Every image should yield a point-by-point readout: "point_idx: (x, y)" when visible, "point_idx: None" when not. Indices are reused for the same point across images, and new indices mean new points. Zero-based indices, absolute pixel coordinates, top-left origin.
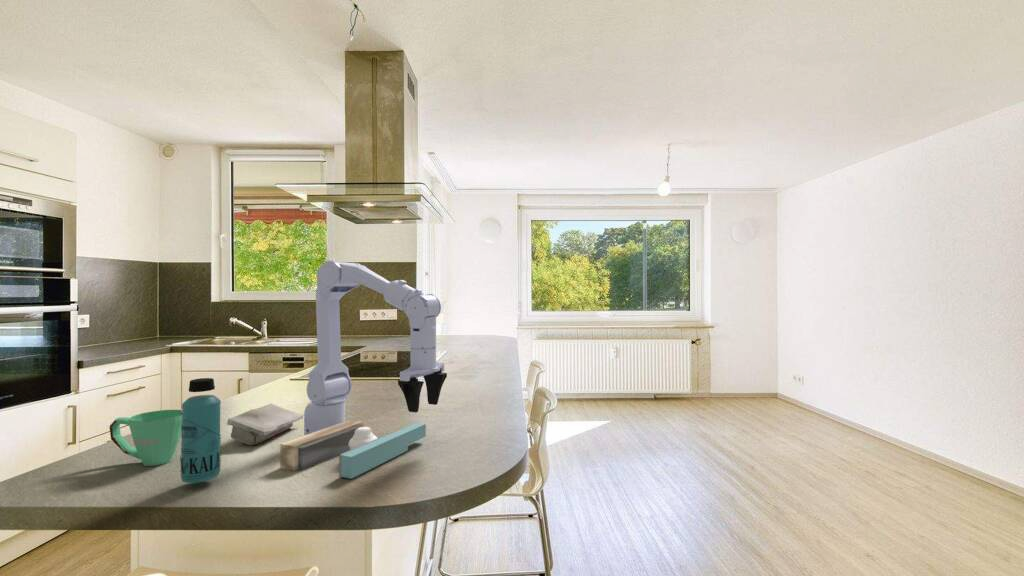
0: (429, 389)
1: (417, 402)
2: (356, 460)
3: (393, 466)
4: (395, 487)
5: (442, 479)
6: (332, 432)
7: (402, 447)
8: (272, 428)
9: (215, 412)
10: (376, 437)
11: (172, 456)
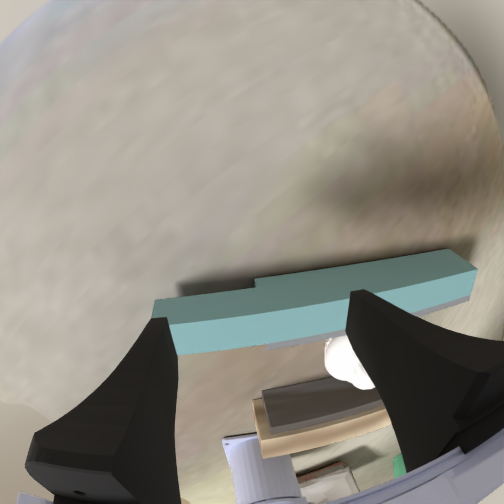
0: (168, 422)
1: (399, 308)
2: (459, 265)
3: (365, 228)
4: (451, 139)
5: (385, 55)
6: (361, 417)
7: (286, 283)
8: (326, 479)
9: None
10: (349, 342)
11: (401, 456)
